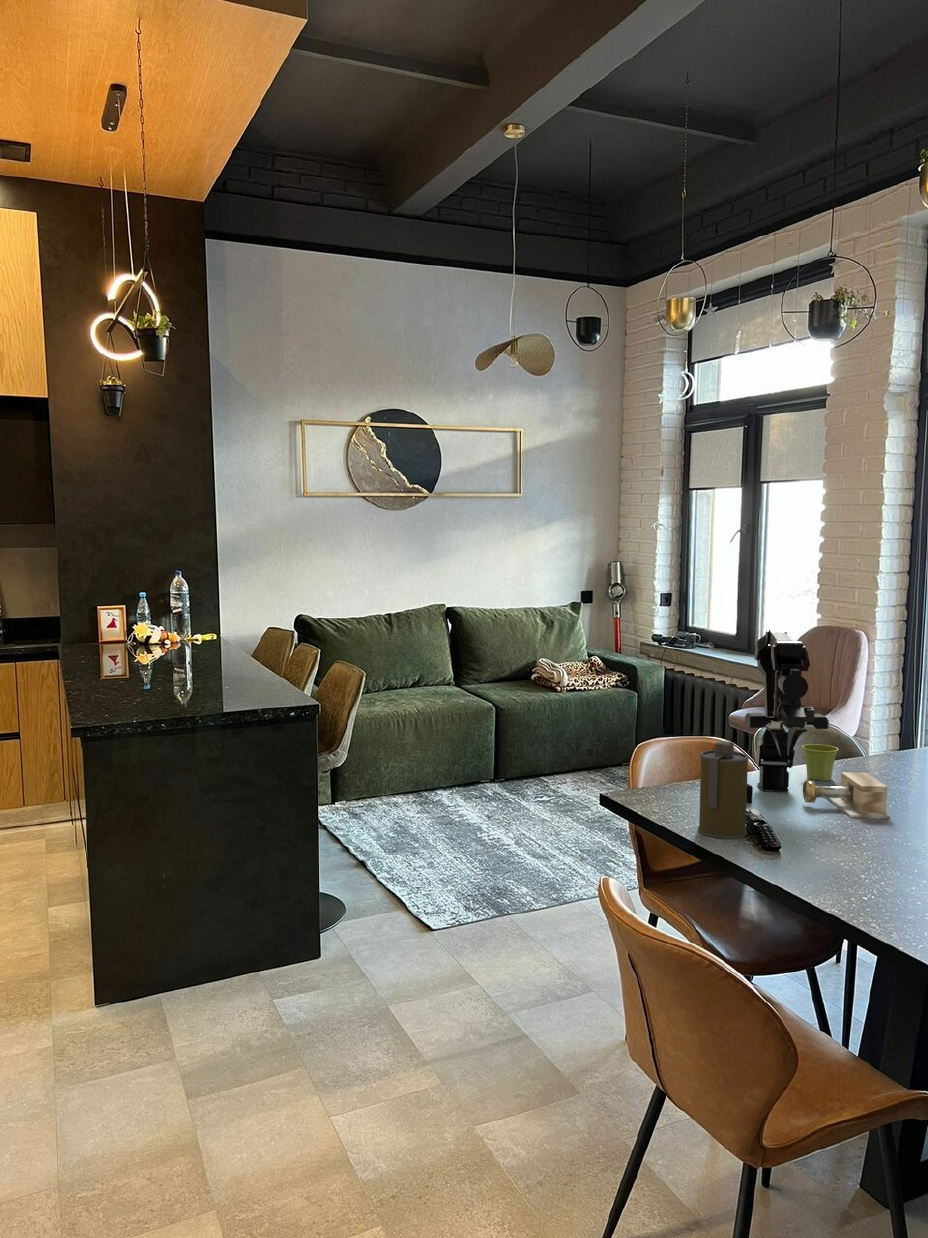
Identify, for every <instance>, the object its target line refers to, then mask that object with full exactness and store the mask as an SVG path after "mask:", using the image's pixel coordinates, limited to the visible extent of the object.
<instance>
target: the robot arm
mask: <svg viewBox="0 0 928 1238" xmlns="http://www.w3.org/2000/svg"><path fill="white" fill-rule="evenodd" d="M754 660H755V661H756V663H757V664H756V665H757V666H756V667H757V669H758V671H759V672H760V673H761V675H762V676H763V688H764V714H763V713H762V712H746V714H745V715H744V724H745V725H746V726H747V727H749V728H751V729H765V730H764V732H763V734H762V735H761V737H760V739H759V742H758V745H757V748H756V752H755V764H756V765H757V767H759V781H758V782H757V786H758V787H759V788H760V789H761V790H762V791H763V792H789V785H790V784H789V781H790V772H789V771H788V768H789V769H792V768H793V767H794V758H795V753H796V750H795V746H796V744H797V741H798V739H799V738H800V736H801V735H802V734H803V733H806V732H807V733H808V729H807V728H806V727H807V726H812V727H813V728H814V729H816V730H829V728H830V727H829V726H830V725H829V723H830V721H829V719H828V717H827V716H825V715H824V714H821V713H815V708H814V707H813V706H805V707H802V706H803V705H802V701H801V700H802V699H801V698H804V697H805V696H806V694H807V692H808V690H809V684H808V681H807V680H806V678H805V677H803V676H802V672H808V671H809V668H810V666H811V663H810V662H811V661H810V656H809V651H808V650H807V646H805V645H804V643H803V642H802V640H801V641H800V640H792V639H791V638H790V637H789V635H788V632H787V630H784V629H773V628H771V629H768V630H766V631H765V634H764V636H761V637H760V638H759V639H757V640H756V643H755V648H754ZM784 727H785V728H787V731H786V729H785V728H784Z"/></svg>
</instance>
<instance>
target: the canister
mask: <svg viewBox="0 0 928 1238" xmlns="http://www.w3.org/2000/svg"><path fill="white" fill-rule="evenodd" d="M734 747H735V743H734V742H732V741H725V740H723V741H720V742H719V741H718V742H715V745H714V747H713V748H712V749H709V750H708V749H707V750H704V751H701V752H700V754H699V756H700V784H699V787H700V788H699V821H698V823H699V824H698V825H699V826H698V827H697V831H698V832H699V833H700V834H702V835H704V836H707V837H709V838H715V839H721V840H735V839H740V838H743V837H746V835H747V834H748V833H747V830H746V829H747V828H746V826H747V803H746V802H747V784H748V763H749V762H748V761H749V759H750V757H749V755H748V754H746V753H743V752H740V751H735V748H734Z"/></svg>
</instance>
